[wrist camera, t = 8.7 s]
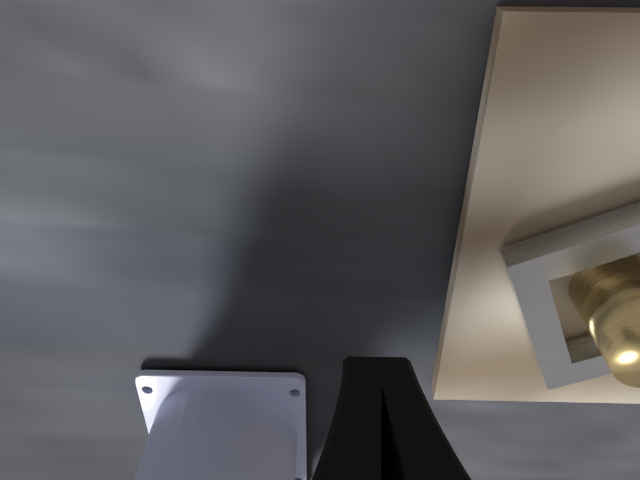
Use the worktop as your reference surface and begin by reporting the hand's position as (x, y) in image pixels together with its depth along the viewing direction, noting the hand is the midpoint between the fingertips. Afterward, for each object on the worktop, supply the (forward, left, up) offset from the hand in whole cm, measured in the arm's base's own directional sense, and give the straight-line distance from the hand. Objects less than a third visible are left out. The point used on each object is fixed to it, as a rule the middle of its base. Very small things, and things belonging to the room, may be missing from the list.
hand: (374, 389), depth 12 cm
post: (-4, -10, -9) cm, 14 cm away
